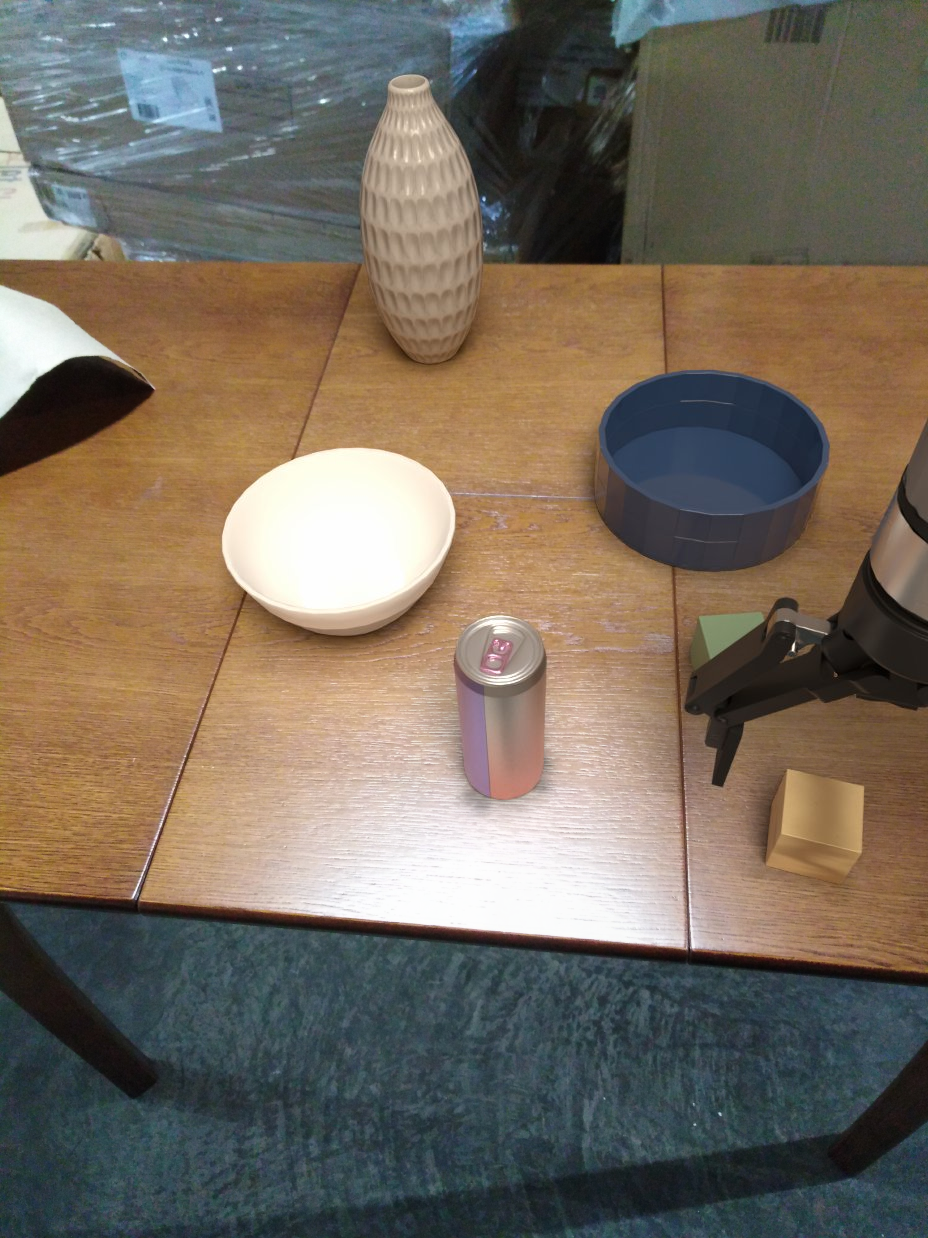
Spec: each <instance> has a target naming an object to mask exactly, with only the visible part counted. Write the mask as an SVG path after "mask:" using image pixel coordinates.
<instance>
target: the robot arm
mask: <svg viewBox="0 0 928 1238" xmlns="http://www.w3.org/2000/svg"><path fill="white" fill-rule="evenodd" d="M844 600H845V601H844V602H843V605H842V607H841V608H840V610H838V611H837V612H836V613H834V614H833V615H831V616H829V617H828V618H827V619H822V618H818V617H814V616H811V615H808V614H804V613H800V612H799V606H800V605H799V602H798V601H797V600H796V599H795V598H792V597H788V596H787V597H786V596H785V597H780V598H778V599H777V600H775V602H774V603H773V606H772V607H771V609H770V611H769V613H768V614H767V616H766V617H765V619H764V620H765V621H764V622H762V623H761V624H760V625H758V626H757V627H755V628H754V629H753V630H751V631H750V632H748V633H747V634H746V635H744V636H743V637H741V638H740V639H739V640H737V641H736V642H734V643H733V644H732V645H730V646H729V647H727V648H726V649H725V650H723V651H722V652H720V653H719V654H718V655H716V656H715V657H713V658H712V659H711V660H709V661H708V662H706V663H705V664H704V665H702V666H701V667H699V668H698V669H697V670H695V671H694V670H693V672H691V673H690V674H689V677H688V678H689V679H688V683H687V688H686V694H685V700H684V705H683V709H684V711H685V712H686V713H687V714H689V715H692V716H701V715H703V714H705V715H706V716H708V722H707V725H706V730H705V736H704V745H705V747H707V748H712V749H715V750H716V751H715V758H714V764H713V772H712V778H711V785H712V786H716V787H721V788H724V785H725V783H726V780H727V777H728V775H729V772H730V769H731V767H732V765H733V762H734V760H735V757H736V754H737V751H738V748H739V747H740V743H741V740H742V738H743V736H744V728H745V723H747V722H750V721H753V720H756V719H759V718H763V717H765V716H768V715H769V716H770V715H772V714H775V713H778V712H781V711H784V710H788V709H791V708H794V707H797V706H800V705H803V704H806V703H807V704H808V703H810V702H812V701H815V700H819V701H820V702H821V703H822V704H830V703H833V702H836V701H839V700H842V699H845V698H848V697H852V696H855V699H858V700H864V701H867V702H876V703H879V702H880V703H888V704H891V705H893V706H894V707H895V706H896V707H898V708H901V709H905V710H910V711H915V712H916V711H918V709H919V708H921V709H922V708H923V709H925V708H928V418H927V419H926V421H925V423H924V426H923V427H922V430H921V432H920V435H919V438H918V440H917V442H916V445H915V447H914V449H913V452H912V454H911V457H910V459H909V461H908V463H907V464H906V466H905V468H904V470H903V471H902V474H901V477H900V481H899V483H898V485H897V487H896V489H895V491H894V493H893V495H892V497H891V499H890V502H889V504H888V506H887V507H886V511H885V512H884V514H883V516H882V518H881V520H880V522H879V525H878V528H877V529H876V531H875V533H874V535H873V538H872V540H871V544H870V547H869V549H868V550H867V551H866V553H865V555H864V557H863V560H862V561H861V564H860V566H859V568H858V571H857V573H856V575H855V578H854V579H853V582H852V584H851V586H850V589H849V591H848V593H847V595H846V597H845V599H844ZM809 645H812V646H811V648H810V650H809V651H808V652H806V653H804V654H801V655H798V654H799V651H801V650H802V649H804V648H805V647H806V646H809ZM786 657H787V658H790V659H787V660H785V658H786ZM835 674H836V676H835Z"/></svg>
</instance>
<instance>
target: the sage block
mask: <svg viewBox="0 0 928 1238" xmlns="http://www.w3.org/2000/svg"><path fill="white" fill-rule="evenodd" d="M765 620H766V619H765V617H764V615H763V612H762V611H754V612H753V611H752V612H736V613H724V614H723V613H722V614H720V613H719V614H710V615H709V614H708V615H707V614H706V615H698V616H697V620H696V625H695V628H694V633H693V638H692V642H691V645H690V650H689V658H690V663H691V667H692V671H693V672H694V671H695V670H697V669H698V668H699V667H701V666H702V665H704V664H705V663H706V662H708V661H709V660H711V659H712V658H713V657H715V656H716V655H718V654H719V653H720V652H722V651H723V650H725V649H726V648H727V647H729V646H730V645H732V644H733V643H734V642H736V641H737V640H739V639H740V638H741V637H743V636H744V635H746V634H747V633H748V632H750V631H751V630H753V629H754V628H755V627H757V626H758V625H760V624H761V623H762V622H764V621H765Z"/></svg>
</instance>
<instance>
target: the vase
mask: <svg viewBox="0 0 928 1238" xmlns="http://www.w3.org/2000/svg"><path fill="white" fill-rule="evenodd" d="M386 99H387V100H386V104H385V106H384V108H383V110H382V114H381V116H380V117H379V120H378V123H377V124H376V126H375V130H374V132H373V135H372V137H371V139H370V142H369V145H368V148H367V151H366V154H365V158H364V162H363V166H362V172H361V179H360V185H359V204H358V205H359V208H358V209H359V211H358V212H359V213H358V214H359V227H360V228H359V229H360V239H361V241H360V242H361V249H362V255H363V262H364V267H365V271H366V276H367V281H368V284H369V287H370V291H371V294H372V297H373V300H374V303H375V306H376V308H377V310H378V313H379V315H380V317H381V319H382V321H383V324H384V325H385V327H386V329H387V331H388V332H389V334H390V335H391V337H392V338H393V340H394V342H396V344H397V345H398V346H399V347H400V349H402V351H403V352H404V354H406V355H407V356H408V357H409V358H410V359H411V360H413V361H414V362H416V363H417V362H418V363H420V364H425V365H426V364H427V365H433V364H435V365H436V364H440V363H443V362H446V361H448V360H450V359H451V358H453V357H454V356H456V354H457V353H458V351H459V349H460V348H461V346H462V345H463V343H464V341H465V340H466V338H467V336H468V334H469V332H470V329H471V327H472V324H473V321H474V319H475V316H476V313H477V310H478V305H479V301H480V298H481V297H480V296H481V291H482V282H483V276H484V275H483V274H484V250H485V249H484V227H483V216H482V215H483V214H482V205H481V200H480V195H479V191H478V186H477V182H476V179H475V175H474V172H473V169H472V166H471V163H470V160H469V157H468V155H467V152H466V150H465V148H464V146H463V144H462V142H461V140H460V138H459V136H458V135H457V133H456V131H455V130H454V129H453V127H452V125H451V123H450V122H449V121H448V119H447V118H446V116H445V114H444V113H443V112H442V110H441V109H440V107H439V105H438V104H437V102H436V101H435V99H434V96H433V94H432V90H431V84H430V81H429V79H428V78H426V77H425V76H424V75H423V76H422V75H421V74H403V75H399V76H396V77H394V78H393V79H391V80H390V81H389V82H388V83H387V98H386Z"/></svg>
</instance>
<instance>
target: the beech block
mask: <svg viewBox="0 0 928 1238" xmlns="http://www.w3.org/2000/svg"><path fill="white" fill-rule="evenodd" d="M864 796H865V786H864V785H860V784H856V783H851V782H847V781H842V780H839V779H834V778H830V777H824V776H821V775H816V774H812V773H807V772H803V771H799V770H795V769H790V768H787V769H786V770H785V772H784V774H783V777H782V779H781V782H780V784H779V786H778V789H777V791H776V793H775V796H774V798H773V800H772V802H771V808H770V816H769V825H768V835H767V844H766V854H765V861H764V862H765V863H764V866H766V867H769V868H774V869H777V870H781V871H785V872H789V873H793V874H797V875H801V876H804V877H807V878H813V879H815V880H816V879H817V880H821V881H824V882H829V883H833V884H836V885H842V883H843V881H844V880H845V878H846V877H847V876H848V874H849V873H850V871H851V870H852V869H853V867H854V865H855V864H856V862H857V861H858V859H859V858H860V857H861V854H862V852H863V830H864V828H863V826H864V825H863V824H864V804H865V803H864V802H865V801H864V799H865V797H864Z"/></svg>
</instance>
